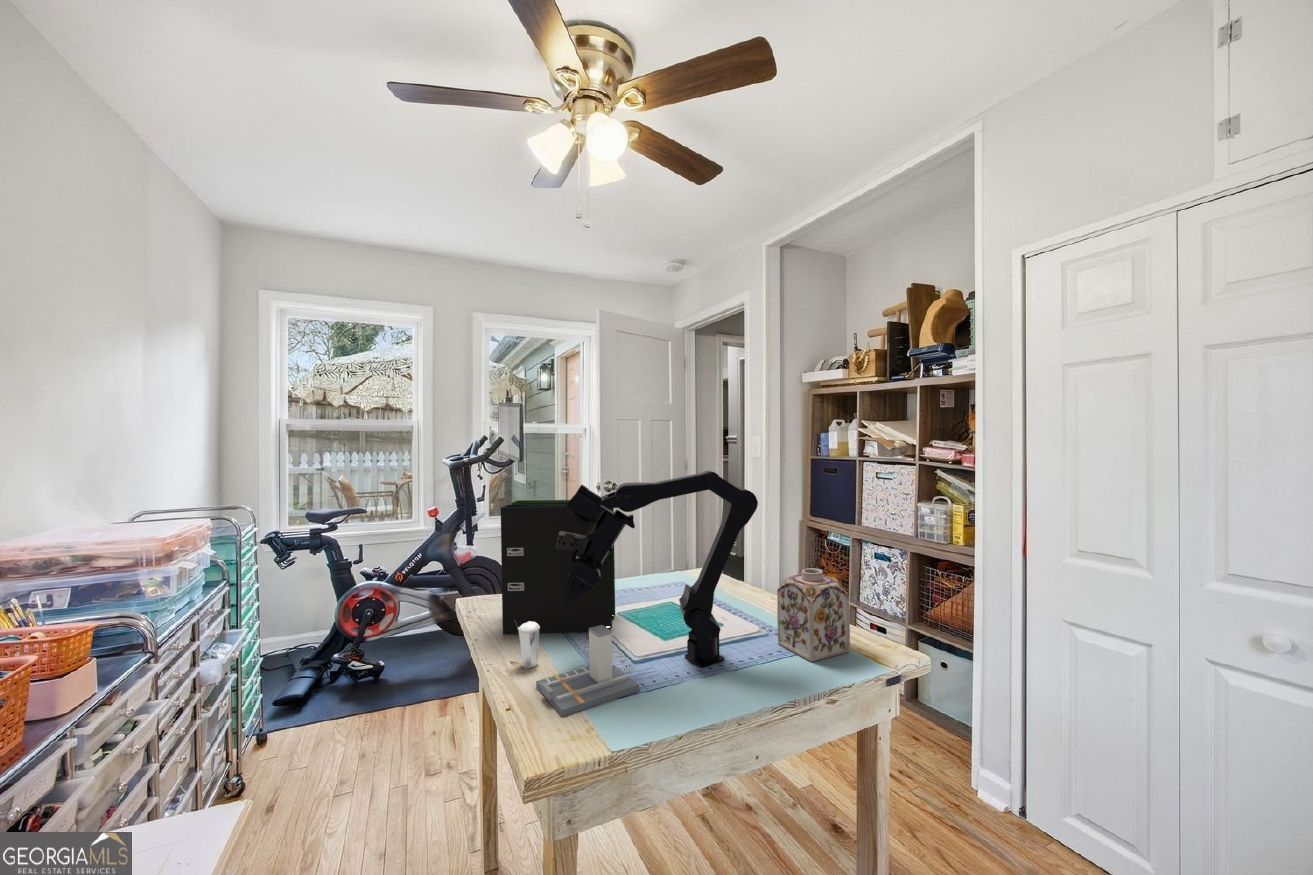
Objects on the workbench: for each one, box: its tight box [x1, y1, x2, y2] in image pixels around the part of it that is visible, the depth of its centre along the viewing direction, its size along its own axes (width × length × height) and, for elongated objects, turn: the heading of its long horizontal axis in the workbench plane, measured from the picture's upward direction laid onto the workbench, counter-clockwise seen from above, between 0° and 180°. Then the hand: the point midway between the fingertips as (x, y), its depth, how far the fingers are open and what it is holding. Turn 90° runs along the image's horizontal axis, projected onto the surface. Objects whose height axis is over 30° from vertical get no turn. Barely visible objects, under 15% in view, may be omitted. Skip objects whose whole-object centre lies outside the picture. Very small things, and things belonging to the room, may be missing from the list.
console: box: [535, 662, 640, 717], centre depth 100 cm, size 17×13×3 cm
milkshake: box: [514, 620, 540, 669], centre depth 111 cm, size 5×5×10 cm
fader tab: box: [588, 625, 613, 683], centre depth 102 cm, size 3×4×10 cm
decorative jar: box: [776, 567, 851, 663], centre depth 118 cm, size 12×12×18 cm
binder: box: [500, 499, 616, 636], centre depth 135 cm, size 27×15×32 cm, turn 89°
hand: (565, 597), depth 110 cm, fingers open, 9 cm apart
